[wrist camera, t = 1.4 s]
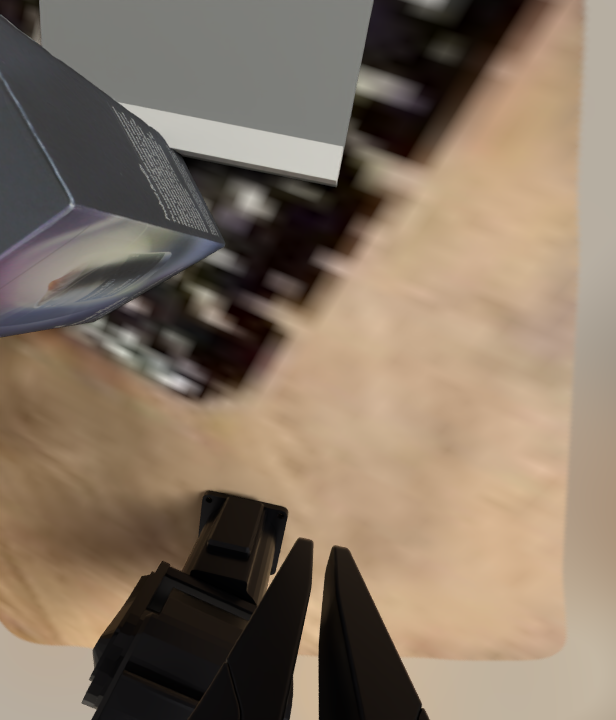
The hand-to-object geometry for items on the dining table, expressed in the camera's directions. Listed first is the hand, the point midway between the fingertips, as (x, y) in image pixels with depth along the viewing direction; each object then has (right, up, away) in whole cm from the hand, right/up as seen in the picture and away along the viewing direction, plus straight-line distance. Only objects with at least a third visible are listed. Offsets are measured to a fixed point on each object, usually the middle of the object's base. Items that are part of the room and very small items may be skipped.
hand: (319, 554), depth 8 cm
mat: (-6, +21, +7) cm, 23 cm away
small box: (-11, +12, +11) cm, 19 cm away
